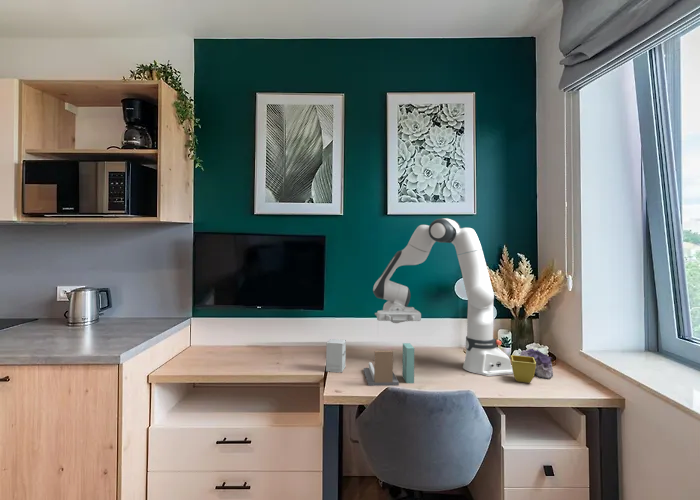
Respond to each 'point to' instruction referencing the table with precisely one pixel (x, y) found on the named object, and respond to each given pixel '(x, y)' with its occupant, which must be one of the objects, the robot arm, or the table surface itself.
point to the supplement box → (335, 355)
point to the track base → (381, 370)
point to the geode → (540, 363)
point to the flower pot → (523, 368)
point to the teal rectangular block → (408, 363)
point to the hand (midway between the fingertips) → (401, 319)
